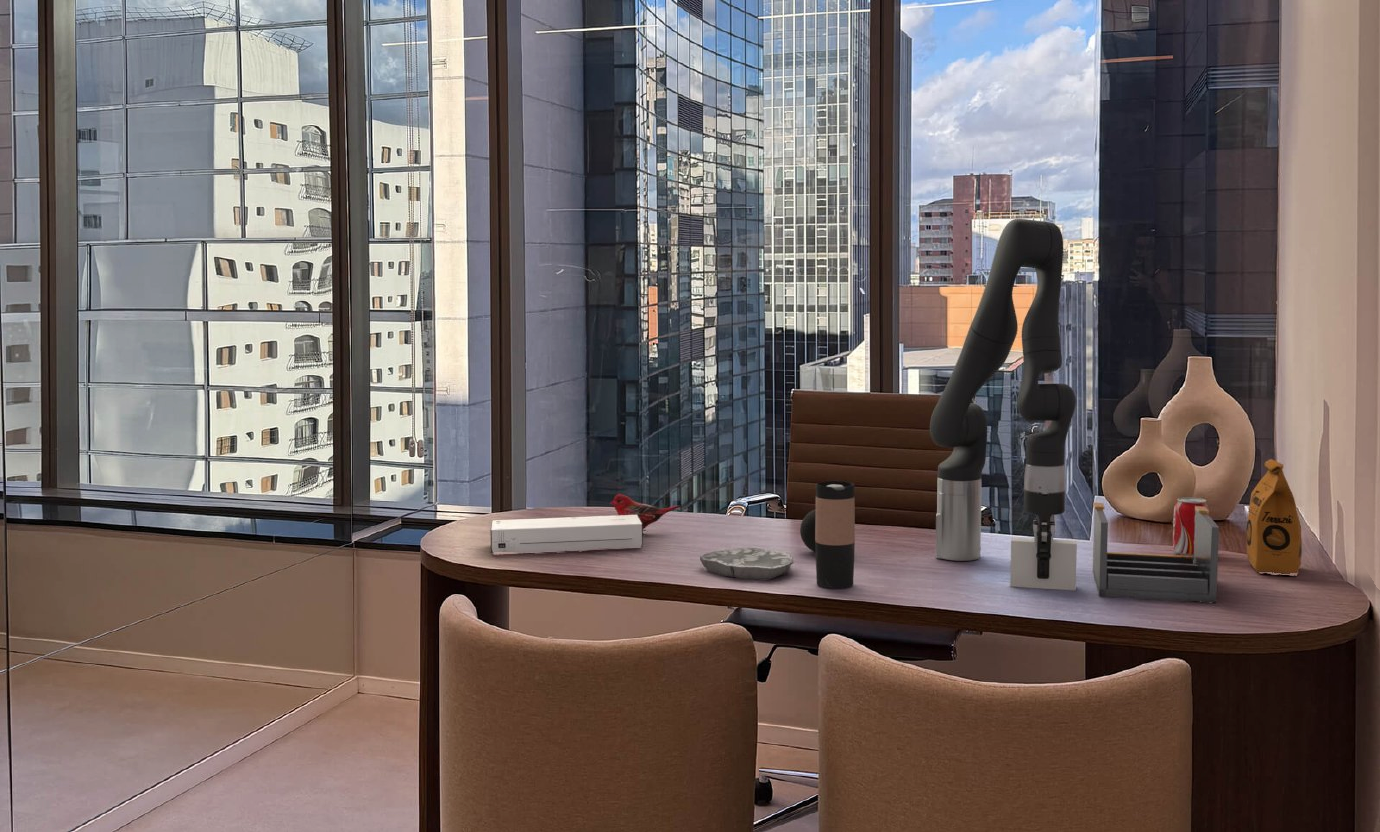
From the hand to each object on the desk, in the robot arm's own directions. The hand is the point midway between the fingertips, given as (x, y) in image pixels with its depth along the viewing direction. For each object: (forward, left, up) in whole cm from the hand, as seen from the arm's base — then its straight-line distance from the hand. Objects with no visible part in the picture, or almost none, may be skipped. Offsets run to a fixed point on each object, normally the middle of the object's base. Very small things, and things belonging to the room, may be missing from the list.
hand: (1042, 575), depth 216 cm
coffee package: (+45, +25, -2) cm, 52 cm away
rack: (+20, +5, -2) cm, 21 cm away
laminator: (-104, +11, -3) cm, 104 cm away
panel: (0, 0, -2) cm, 2 cm away
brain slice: (-58, 0, -3) cm, 58 cm away
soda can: (+31, +36, -2) cm, 48 cm away
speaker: (-46, +19, -2) cm, 50 cm away
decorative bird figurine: (-91, +30, -2) cm, 96 cm away
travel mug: (-39, -8, -2) cm, 40 cm away
